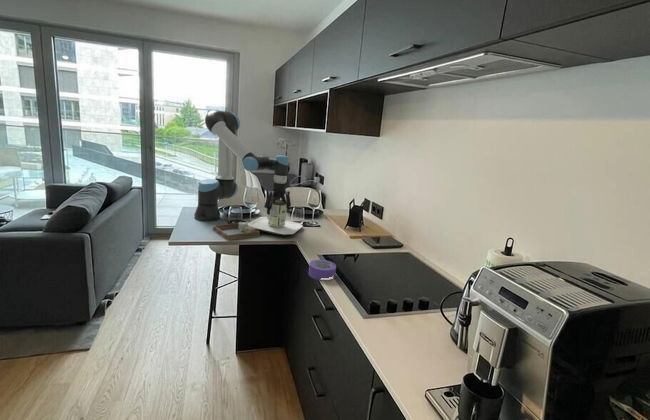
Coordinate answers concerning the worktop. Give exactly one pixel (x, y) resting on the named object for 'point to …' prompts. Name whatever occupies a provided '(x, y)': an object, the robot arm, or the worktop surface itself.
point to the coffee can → (278, 213)
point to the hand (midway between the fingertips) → (276, 218)
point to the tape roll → (321, 269)
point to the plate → (263, 225)
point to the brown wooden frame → (234, 236)
